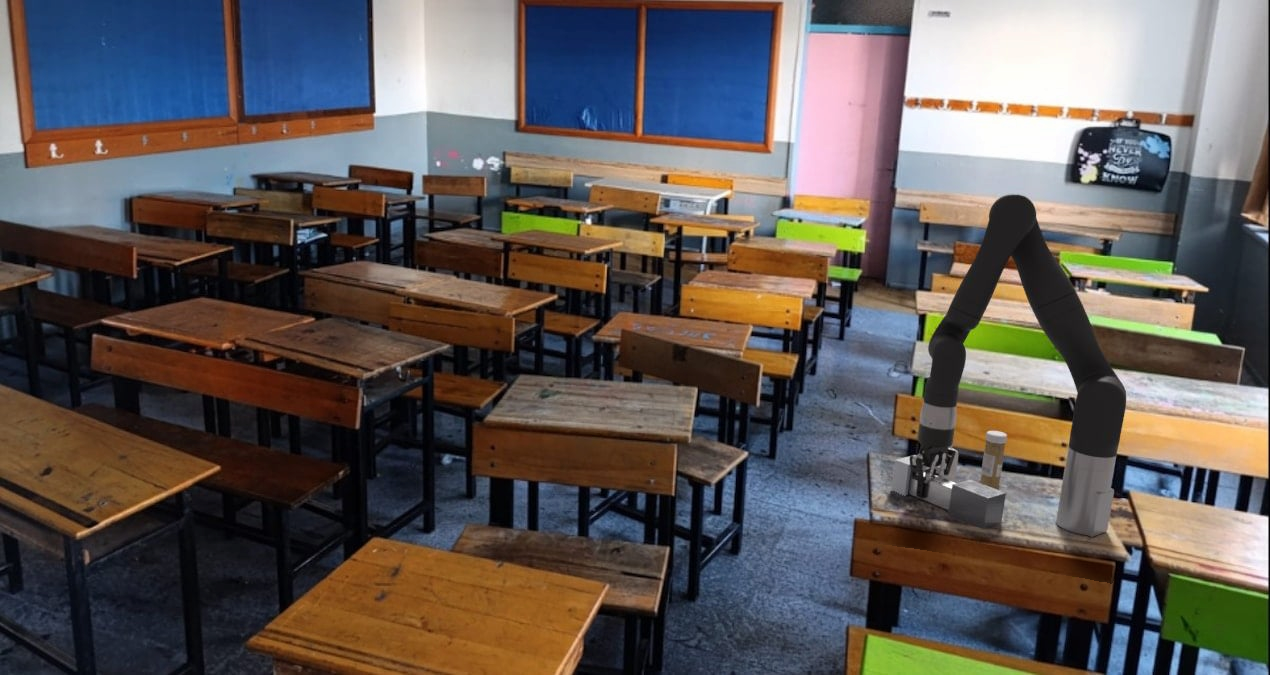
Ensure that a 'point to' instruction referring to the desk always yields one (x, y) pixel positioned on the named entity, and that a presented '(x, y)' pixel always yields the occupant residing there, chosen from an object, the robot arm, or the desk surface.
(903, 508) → the desk surface
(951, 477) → the eye dropper bottle
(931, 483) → the grey square post
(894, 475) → the socket block
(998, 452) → the sprinkles bottle
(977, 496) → the sleeve
